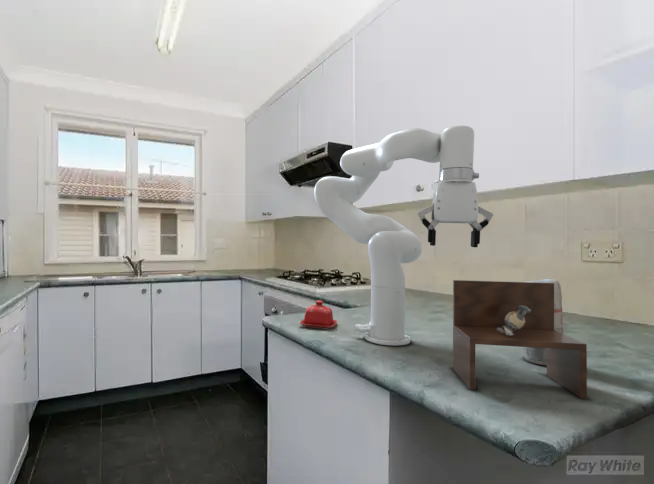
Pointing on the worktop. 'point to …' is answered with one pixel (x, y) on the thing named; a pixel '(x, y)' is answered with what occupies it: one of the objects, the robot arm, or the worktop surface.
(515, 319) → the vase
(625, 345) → the worktop surface
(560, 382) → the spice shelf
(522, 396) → the worktop surface
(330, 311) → the butter dish
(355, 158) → the robot arm
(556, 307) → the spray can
